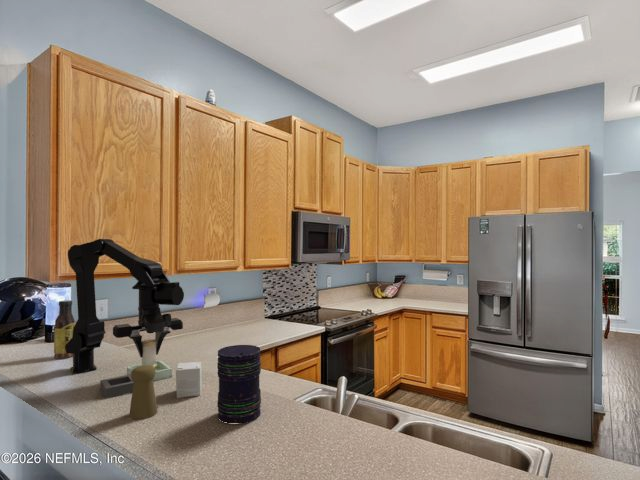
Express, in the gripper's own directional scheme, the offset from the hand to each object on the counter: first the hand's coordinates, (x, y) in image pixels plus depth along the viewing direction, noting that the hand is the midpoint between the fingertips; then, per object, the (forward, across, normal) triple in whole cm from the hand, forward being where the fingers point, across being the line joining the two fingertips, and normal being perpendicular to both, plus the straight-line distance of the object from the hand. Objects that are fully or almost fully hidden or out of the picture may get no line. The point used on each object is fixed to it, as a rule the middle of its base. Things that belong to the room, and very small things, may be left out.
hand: (149, 355), depth 117 cm
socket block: (+6, -9, -7) cm, 13 cm away
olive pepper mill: (+6, -8, -27) cm, 29 cm away
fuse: (+4, 0, 0) cm, 4 cm away
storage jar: (+6, +8, -42) cm, 43 cm away
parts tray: (+6, 0, 0) cm, 6 cm away
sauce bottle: (+6, -17, +41) cm, 45 cm away
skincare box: (+6, +4, -21) cm, 22 cm away
